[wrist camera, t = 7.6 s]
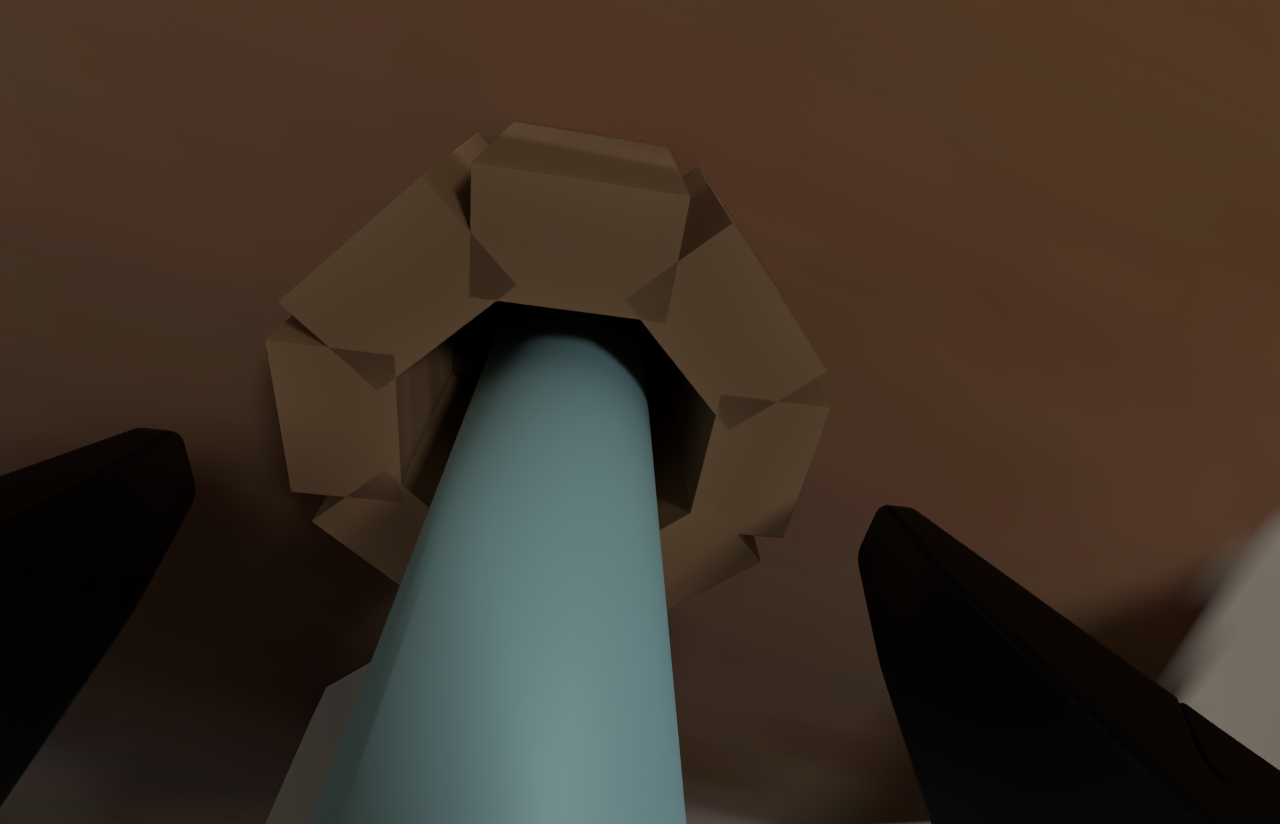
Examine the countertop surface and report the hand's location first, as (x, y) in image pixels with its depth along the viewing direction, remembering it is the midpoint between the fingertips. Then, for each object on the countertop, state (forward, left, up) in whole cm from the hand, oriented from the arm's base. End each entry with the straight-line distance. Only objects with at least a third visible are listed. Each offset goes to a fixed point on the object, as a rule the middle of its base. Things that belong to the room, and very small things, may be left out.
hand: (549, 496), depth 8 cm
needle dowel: (0, 0, -4) cm, 5 cm away
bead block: (0, 0, -4) cm, 4 cm away
